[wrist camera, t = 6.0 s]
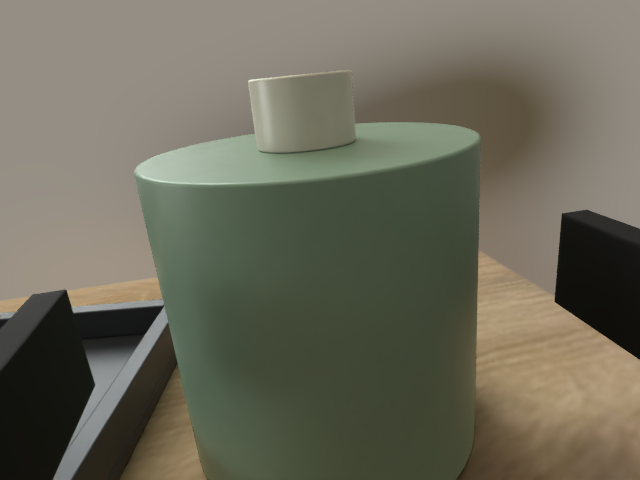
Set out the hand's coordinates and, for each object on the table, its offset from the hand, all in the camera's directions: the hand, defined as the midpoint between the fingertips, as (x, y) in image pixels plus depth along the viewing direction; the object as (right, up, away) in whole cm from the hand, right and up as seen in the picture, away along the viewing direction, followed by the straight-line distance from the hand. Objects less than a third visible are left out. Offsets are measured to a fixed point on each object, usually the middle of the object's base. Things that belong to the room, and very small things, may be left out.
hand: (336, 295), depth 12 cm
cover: (0, -5, +5) cm, 7 cm away
